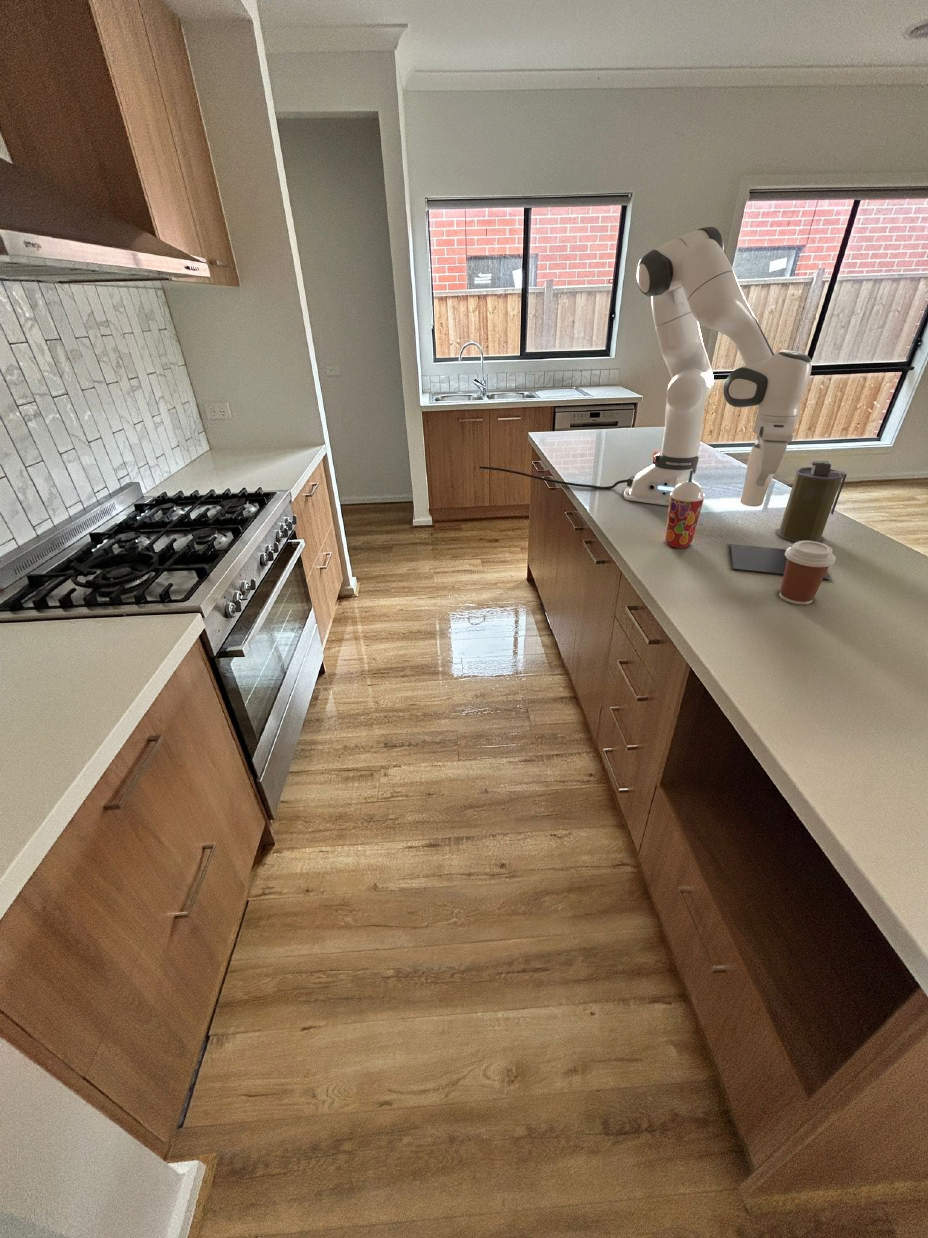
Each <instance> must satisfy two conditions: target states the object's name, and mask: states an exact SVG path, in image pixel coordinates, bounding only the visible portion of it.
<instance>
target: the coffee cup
mask: <svg viewBox="0 0 928 1238" xmlns="http://www.w3.org/2000/svg"><path fill="white" fill-rule="evenodd" d="M785 550H786V552H785V556H786V558H787V562H786V566H785V571H784V575H782V580H781V584H780V590H779V593H778V596H779V597H780V598H781V599H782V600H784V601H786V602H788V603H791V604H795V605H809V604H811V603H813V600H814V599H815V596H816V594H817V592H818V590H819V588H820V586H821V584H822V582H823V581H824V580H823V578H824V576H825V574H827V571H828V569H829V568H830V567H831V566H833V565H835V563H836V559H837V557H836V556H835V555H834V554H833V549H832V547H831V546H829V545H827V544H826V543H823V542H821V541H819V542H815V541H798V542H794V543H793V545H792V546H790V547H787V548H786V549H785Z"/></svg>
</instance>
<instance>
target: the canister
mask: <svg viewBox="0 0 928 1238" xmlns="http://www.w3.org/2000/svg"><path fill="white" fill-rule="evenodd" d="M810 464H811V465H812V466H805V467H799V468H797V469H796V471H795V476H794V480H793V483H792V486H791V490H790V494H789V496H788V501H787V503H786V507H785V510H784V513H783V517H782V520H781V523H780V527H779V529H778V530H777V535H778V536H779V537H781V538H782V539H784V540H787V541H789V542H794V543H796V542H798V541H815V542H822V540H823V534H824V531H825V528H826V525H827V523H828V519H829V516H830V514H831V516H833V515H834V512H835V510H836V506H837V504H838V501H839V498H840V495H841V492H842V489H843V487H844V484H845V482H846V478H847V476H848V474H847V473H846V471H843V470H836V469H833V468H832V464H831V463H830V461H828V460H813V461H812V460H810Z"/></svg>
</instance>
